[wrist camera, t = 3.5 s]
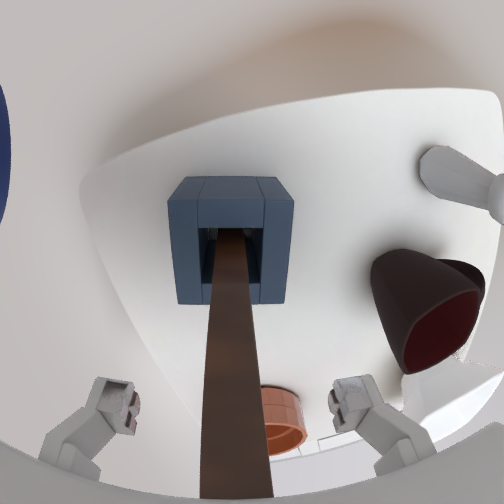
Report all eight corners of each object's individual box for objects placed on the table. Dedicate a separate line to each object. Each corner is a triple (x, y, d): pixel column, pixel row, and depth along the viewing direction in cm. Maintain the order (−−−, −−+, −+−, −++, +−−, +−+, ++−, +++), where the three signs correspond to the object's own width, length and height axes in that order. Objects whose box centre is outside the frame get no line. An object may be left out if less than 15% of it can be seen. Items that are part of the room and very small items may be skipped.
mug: (349, 249, 29) (402, 318, 19) (444, 214, 28) (510, 259, 17) (358, 314, 34) (396, 384, 23) (442, 278, 33) (492, 330, 22)
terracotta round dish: (217, 427, 45) (217, 458, 38) (211, 385, 38) (210, 424, 32) (293, 423, 46) (299, 453, 39) (306, 381, 39) (315, 418, 33)
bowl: (383, 346, 37) (421, 418, 25) (471, 313, 37) (512, 364, 25) (367, 406, 46) (388, 462, 33) (443, 377, 45) (469, 422, 33)
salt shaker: (411, 193, 27) (493, 243, 15) (411, 142, 24) (503, 170, 13) (447, 189, 27) (525, 233, 15) (448, 143, 24) (534, 170, 12)
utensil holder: (190, 257, 28) (178, 304, 21) (185, 176, 25) (167, 200, 18) (271, 257, 29) (284, 304, 22) (276, 177, 25) (294, 200, 18)
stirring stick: (220, 228, 27) (207, 510, 6) (220, 209, 26) (199, 500, 5) (241, 228, 27) (268, 509, 6) (241, 209, 27) (274, 499, 5)
